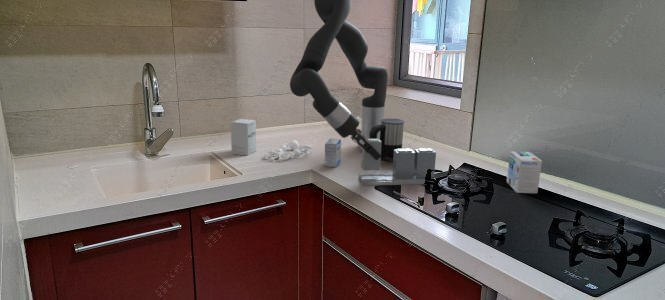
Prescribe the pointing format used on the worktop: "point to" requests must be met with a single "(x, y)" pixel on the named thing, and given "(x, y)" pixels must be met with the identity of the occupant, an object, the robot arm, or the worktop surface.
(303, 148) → the white lumpy mound
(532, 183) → the light bulb box
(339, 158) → the medicine box
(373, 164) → the block
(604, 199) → the worktop surface
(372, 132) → the milk frother
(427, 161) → the grey module rack
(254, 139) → the supplement box
